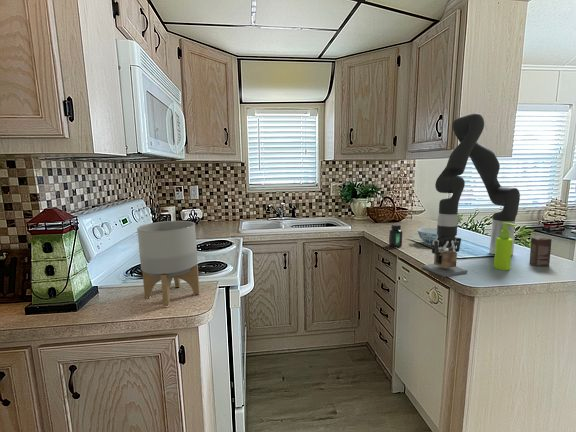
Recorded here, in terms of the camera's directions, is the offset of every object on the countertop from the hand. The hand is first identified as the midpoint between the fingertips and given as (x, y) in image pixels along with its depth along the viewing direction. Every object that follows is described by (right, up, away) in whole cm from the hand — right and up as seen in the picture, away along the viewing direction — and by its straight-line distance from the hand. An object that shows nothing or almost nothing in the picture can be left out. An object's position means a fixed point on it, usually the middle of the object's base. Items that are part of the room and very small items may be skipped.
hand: (444, 262), depth 135 cm
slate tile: (0, -3, 0) cm, 4 cm away
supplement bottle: (-7, +3, +41) cm, 42 cm away
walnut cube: (0, -1, 0) cm, 1 cm away
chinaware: (+15, +4, +45) cm, 47 cm away
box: (+45, -2, +6) cm, 45 cm away
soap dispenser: (+26, -3, +2) cm, 26 cm away
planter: (-109, -9, -20) cm, 111 cm away
